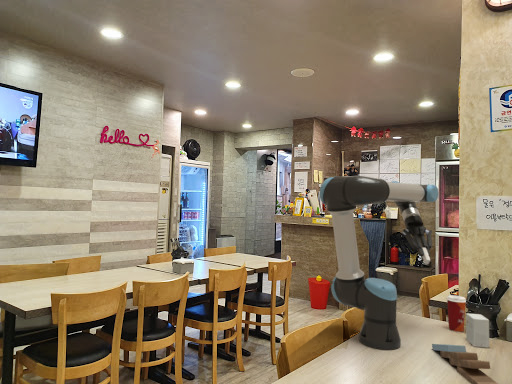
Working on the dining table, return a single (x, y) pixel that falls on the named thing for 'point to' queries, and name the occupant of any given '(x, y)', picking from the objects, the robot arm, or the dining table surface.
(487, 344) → the small box
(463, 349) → the blue domino
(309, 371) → the dining table surface
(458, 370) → the domino
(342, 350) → the dining table surface
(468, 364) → the domino
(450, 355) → the domino
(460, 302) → the paper cup
